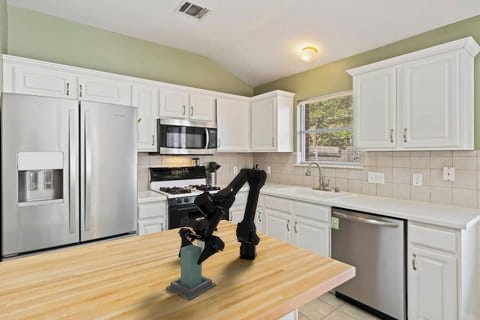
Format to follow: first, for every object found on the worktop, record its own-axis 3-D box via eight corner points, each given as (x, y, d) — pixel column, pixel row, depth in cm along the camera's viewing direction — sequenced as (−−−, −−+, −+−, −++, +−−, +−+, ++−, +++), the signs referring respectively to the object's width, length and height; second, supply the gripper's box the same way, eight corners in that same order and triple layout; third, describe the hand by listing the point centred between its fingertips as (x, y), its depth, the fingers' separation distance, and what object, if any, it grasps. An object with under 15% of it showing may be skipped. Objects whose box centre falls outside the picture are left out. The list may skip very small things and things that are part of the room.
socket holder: (192, 275, 101) (192, 270, 101) (216, 285, 94) (216, 279, 93) (166, 288, 91) (166, 282, 91) (190, 300, 84) (190, 294, 84)
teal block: (191, 280, 96) (191, 244, 95) (201, 284, 93) (201, 247, 92) (180, 286, 92) (180, 248, 92) (190, 290, 89) (190, 251, 88)
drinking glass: (207, 254, 122) (207, 221, 121) (193, 253, 123) (193, 220, 123) (212, 249, 128) (212, 217, 128) (198, 248, 130) (198, 217, 129)
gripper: (181, 205, 100) (156, 243, 92) (219, 212, 89) (194, 256, 81) (197, 222, 107) (175, 258, 99) (234, 230, 96) (212, 272, 87)
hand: (188, 260), depth 91 cm, fingers open, 9 cm apart
